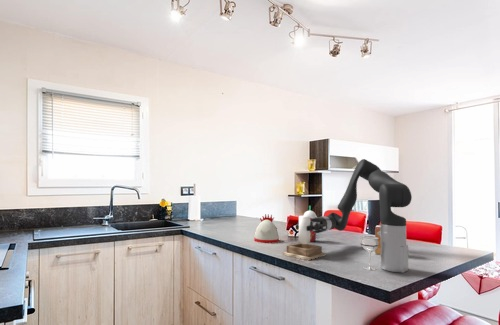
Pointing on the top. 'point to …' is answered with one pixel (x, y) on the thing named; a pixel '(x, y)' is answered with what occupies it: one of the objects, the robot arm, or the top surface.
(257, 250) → the top surface
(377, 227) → the small box
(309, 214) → the smoothie
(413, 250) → the top surface
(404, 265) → the robot arm
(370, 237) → the wineglass
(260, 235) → the kitchen timer
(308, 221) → the paper roll
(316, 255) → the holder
